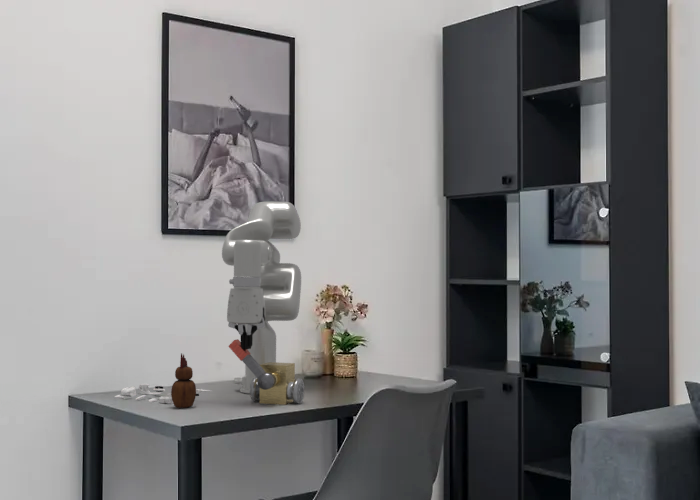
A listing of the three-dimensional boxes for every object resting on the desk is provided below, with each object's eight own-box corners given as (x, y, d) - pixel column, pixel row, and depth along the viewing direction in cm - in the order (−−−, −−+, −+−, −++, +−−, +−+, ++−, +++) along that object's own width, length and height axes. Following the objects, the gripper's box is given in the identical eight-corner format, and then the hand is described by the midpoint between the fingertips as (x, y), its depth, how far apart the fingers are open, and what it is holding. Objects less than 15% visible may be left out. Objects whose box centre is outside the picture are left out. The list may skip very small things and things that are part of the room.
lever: (264, 392, 247) (225, 348, 251) (268, 391, 250) (230, 347, 254) (275, 382, 247) (236, 337, 250) (279, 380, 249) (240, 337, 253)
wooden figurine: (182, 409, 242) (183, 354, 242) (167, 407, 245) (167, 353, 245) (199, 406, 247) (200, 352, 248) (184, 404, 250) (185, 351, 251)
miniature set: (217, 399, 256) (187, 411, 246) (133, 396, 276) (102, 407, 266) (214, 377, 256) (184, 389, 246) (130, 376, 276) (99, 386, 265)
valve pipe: (245, 404, 252) (246, 365, 253) (259, 399, 262) (259, 361, 262) (292, 406, 248) (292, 366, 249) (304, 401, 258) (304, 363, 258)
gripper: (217, 283, 250) (216, 349, 249) (267, 283, 246) (266, 350, 245) (227, 283, 257) (227, 347, 256) (276, 283, 253) (276, 348, 252)
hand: (246, 348), depth 251 cm, fingers closed
